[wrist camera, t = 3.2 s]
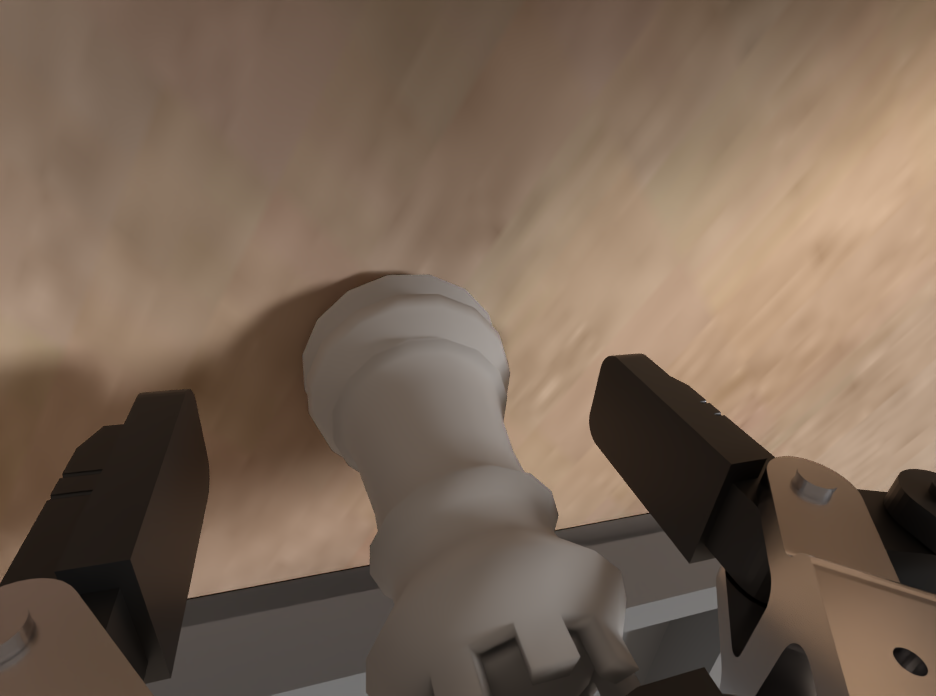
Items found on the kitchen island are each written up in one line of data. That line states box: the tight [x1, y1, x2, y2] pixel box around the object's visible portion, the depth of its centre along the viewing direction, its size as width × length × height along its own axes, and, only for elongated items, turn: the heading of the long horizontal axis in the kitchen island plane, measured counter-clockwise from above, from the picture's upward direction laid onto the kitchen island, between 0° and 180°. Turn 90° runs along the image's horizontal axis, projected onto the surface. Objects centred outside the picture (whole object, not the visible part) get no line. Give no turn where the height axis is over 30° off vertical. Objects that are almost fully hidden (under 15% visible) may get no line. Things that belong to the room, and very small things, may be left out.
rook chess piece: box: [302, 275, 641, 696], centre depth 9 cm, size 4×4×8 cm
